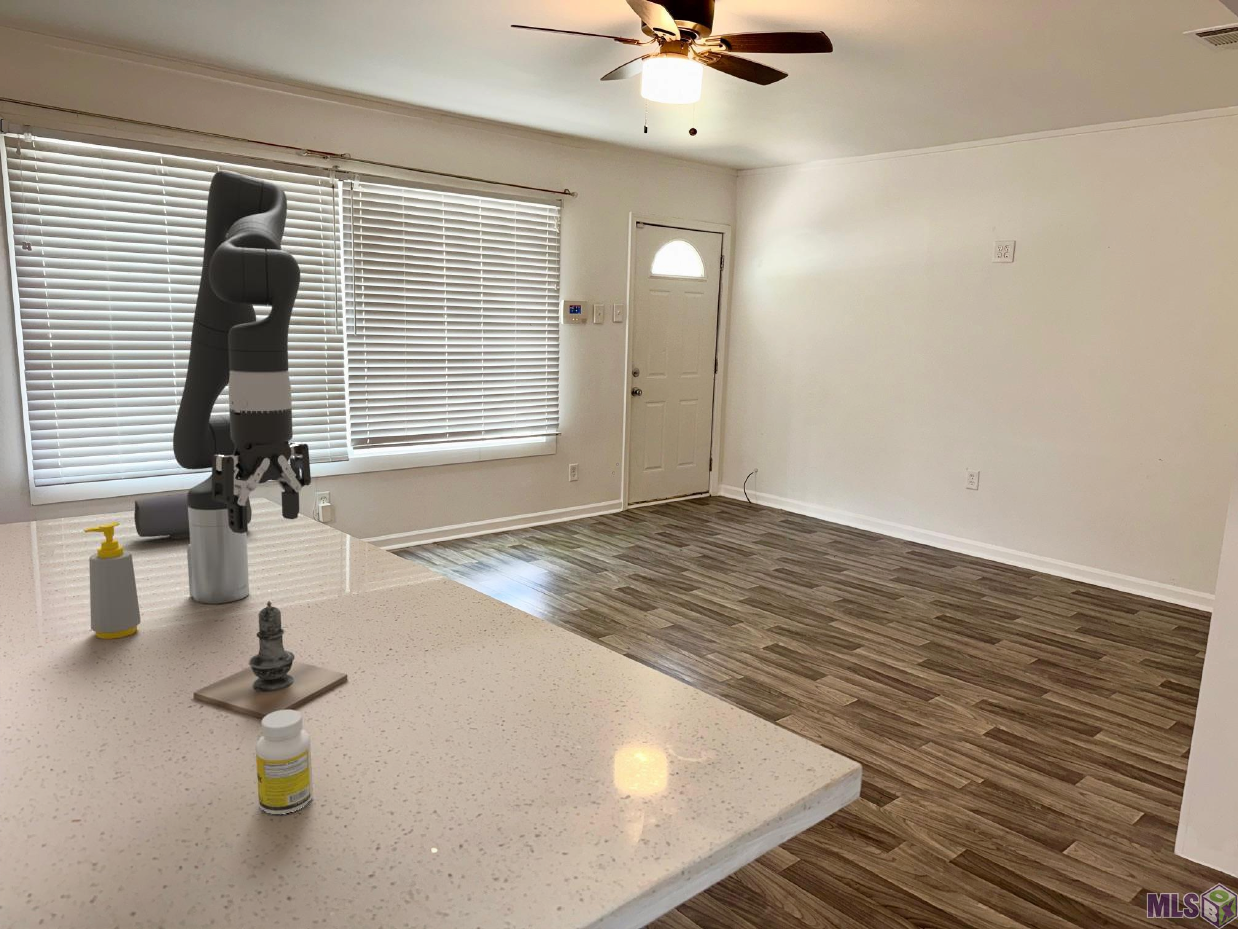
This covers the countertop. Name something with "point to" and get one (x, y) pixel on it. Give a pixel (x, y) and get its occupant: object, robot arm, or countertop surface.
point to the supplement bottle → (283, 763)
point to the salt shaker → (271, 653)
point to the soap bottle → (112, 588)
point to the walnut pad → (259, 704)
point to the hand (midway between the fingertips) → (265, 525)
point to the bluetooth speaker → (166, 516)
